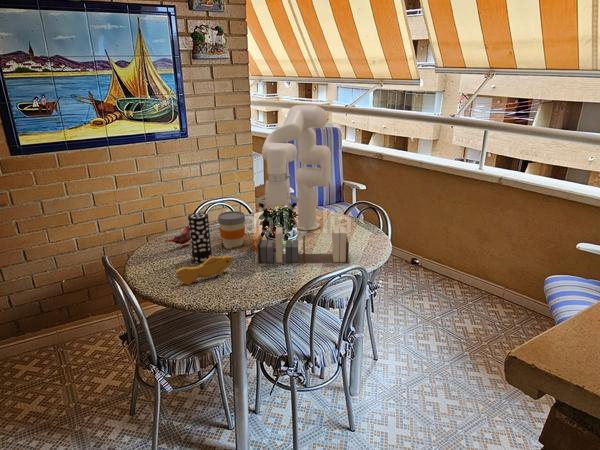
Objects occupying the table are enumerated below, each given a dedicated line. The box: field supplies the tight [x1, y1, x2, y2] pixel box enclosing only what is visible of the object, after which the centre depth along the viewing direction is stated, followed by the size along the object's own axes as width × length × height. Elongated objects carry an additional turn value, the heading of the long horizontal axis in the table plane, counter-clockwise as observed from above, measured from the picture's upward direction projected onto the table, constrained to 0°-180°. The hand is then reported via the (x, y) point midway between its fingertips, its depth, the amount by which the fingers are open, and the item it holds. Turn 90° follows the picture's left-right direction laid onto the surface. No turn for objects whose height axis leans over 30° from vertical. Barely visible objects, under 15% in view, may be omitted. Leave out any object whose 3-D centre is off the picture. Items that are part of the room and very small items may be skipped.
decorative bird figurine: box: [164, 224, 191, 248], centre depth 190 cm, size 3×18×10 cm, turn 140°
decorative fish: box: [175, 254, 233, 285], centre depth 159 cm, size 22×3×10 cm, turn 118°
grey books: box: [260, 239, 299, 263], centre depth 173 cm, size 8×16×7 cm, turn 88°
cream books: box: [331, 225, 347, 262], centre depth 171 cm, size 8×5×13 cm, turn 178°
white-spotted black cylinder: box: [187, 212, 213, 264], centre depth 175 cm, size 8×8×20 cm
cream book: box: [274, 226, 284, 263], centre depth 172 cm, size 8×2×13 cm, turn 178°
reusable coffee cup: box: [217, 210, 246, 250], centre depth 190 cm, size 13×13×15 cm
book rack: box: [256, 233, 350, 265], centre depth 173 cm, size 10×38×10 cm, turn 88°
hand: (278, 218), depth 168 cm, fingers open, 9 cm apart
